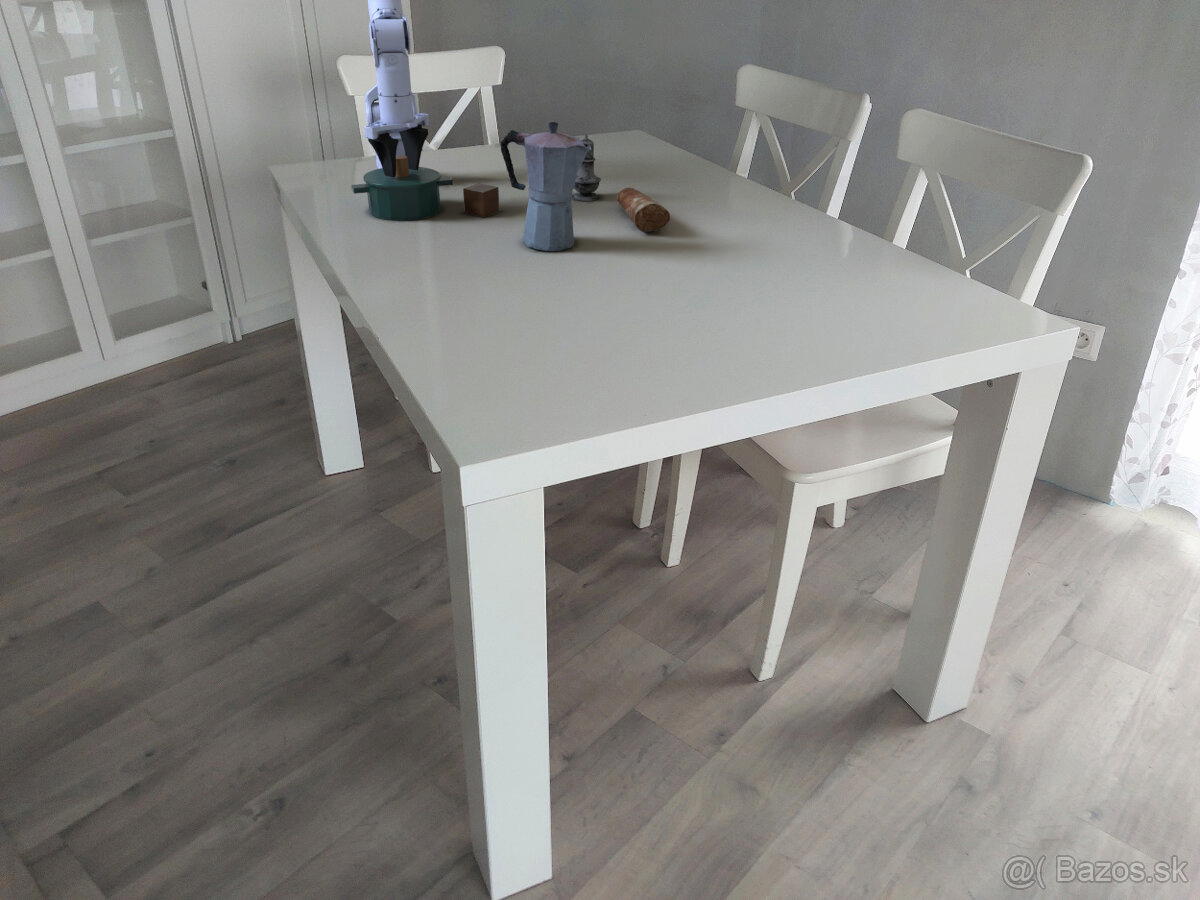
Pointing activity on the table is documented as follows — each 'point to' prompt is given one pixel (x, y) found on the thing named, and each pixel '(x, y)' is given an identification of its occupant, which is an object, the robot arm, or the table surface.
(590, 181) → the salt shaker
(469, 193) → the block
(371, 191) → the pot
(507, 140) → the moka pot
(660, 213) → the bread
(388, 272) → the table surface
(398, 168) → the lid
